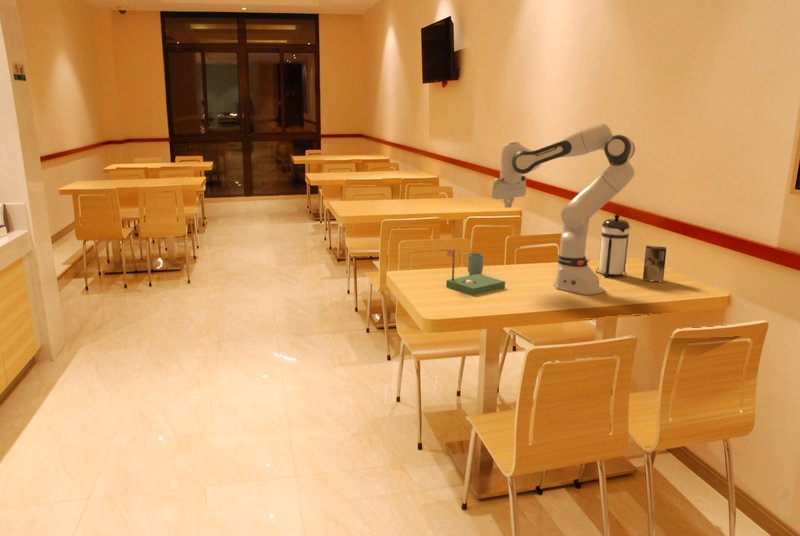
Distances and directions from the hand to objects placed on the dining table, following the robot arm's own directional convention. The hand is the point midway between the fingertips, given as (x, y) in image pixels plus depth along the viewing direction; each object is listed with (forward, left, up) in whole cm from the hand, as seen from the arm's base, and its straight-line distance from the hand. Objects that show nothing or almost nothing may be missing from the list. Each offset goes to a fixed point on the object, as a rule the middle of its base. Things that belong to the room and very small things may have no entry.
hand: (508, 207), depth 290 cm
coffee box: (-47, -52, -34) cm, 78 cm away
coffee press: (-28, -45, -34) cm, 63 cm away
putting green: (-5, +26, -33) cm, 42 cm away
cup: (+10, +10, -34) cm, 36 cm away
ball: (-6, +30, -31) cm, 44 cm away
